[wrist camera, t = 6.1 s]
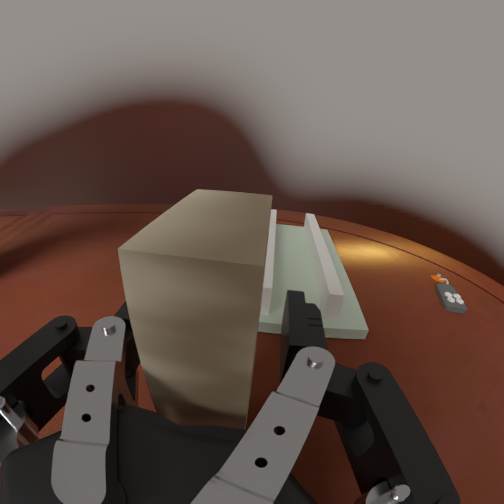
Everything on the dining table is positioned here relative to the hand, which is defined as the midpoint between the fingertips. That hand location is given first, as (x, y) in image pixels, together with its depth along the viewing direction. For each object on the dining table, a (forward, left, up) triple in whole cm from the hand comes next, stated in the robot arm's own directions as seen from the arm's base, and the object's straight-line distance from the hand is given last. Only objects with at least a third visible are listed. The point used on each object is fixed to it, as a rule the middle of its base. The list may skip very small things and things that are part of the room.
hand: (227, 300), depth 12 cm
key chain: (+15, +26, -8) cm, 32 cm away
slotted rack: (-4, +19, -7) cm, 20 cm away
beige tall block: (+1, -2, -7) cm, 8 cm away
